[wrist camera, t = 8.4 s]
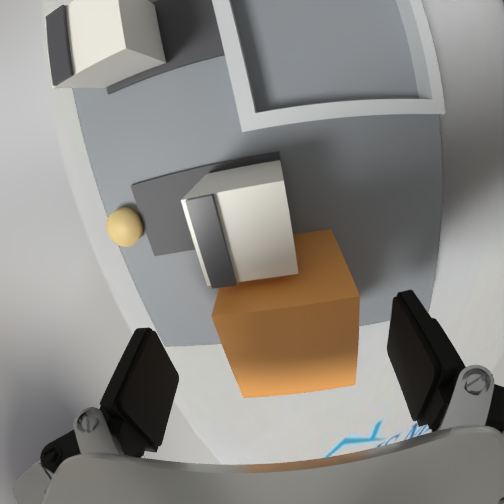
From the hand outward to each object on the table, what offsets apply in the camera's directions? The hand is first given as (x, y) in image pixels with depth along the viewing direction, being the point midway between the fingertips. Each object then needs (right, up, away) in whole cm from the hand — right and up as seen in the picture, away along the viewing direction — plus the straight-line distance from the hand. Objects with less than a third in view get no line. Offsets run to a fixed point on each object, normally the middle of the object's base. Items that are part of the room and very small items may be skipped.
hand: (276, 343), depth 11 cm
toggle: (-6, +12, -2) cm, 14 cm away
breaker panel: (0, +8, +2) cm, 9 cm away
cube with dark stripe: (-1, +6, +2) cm, 6 cm away
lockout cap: (+1, +2, +3) cm, 4 cm away
